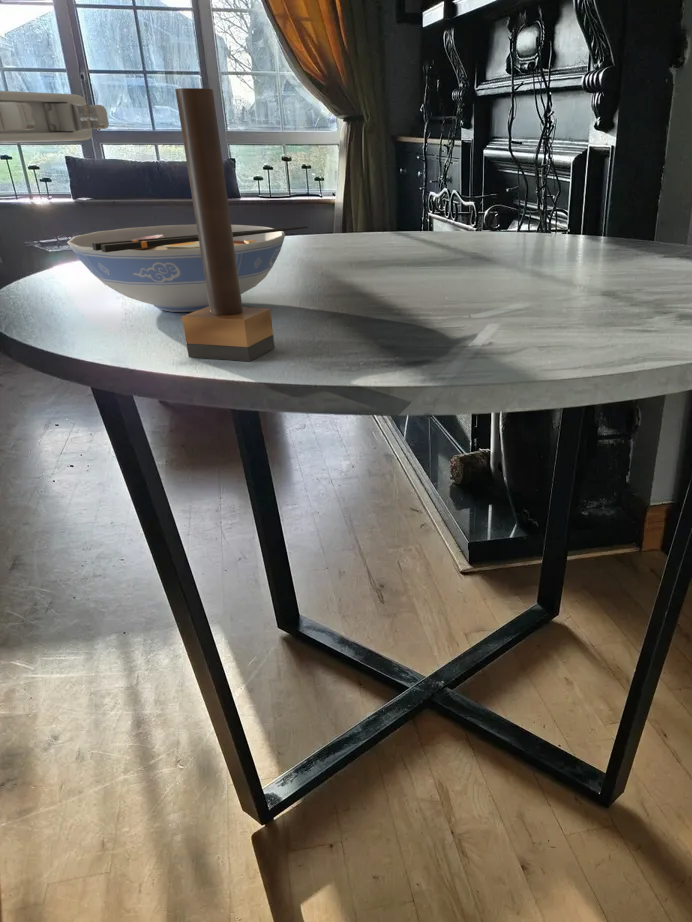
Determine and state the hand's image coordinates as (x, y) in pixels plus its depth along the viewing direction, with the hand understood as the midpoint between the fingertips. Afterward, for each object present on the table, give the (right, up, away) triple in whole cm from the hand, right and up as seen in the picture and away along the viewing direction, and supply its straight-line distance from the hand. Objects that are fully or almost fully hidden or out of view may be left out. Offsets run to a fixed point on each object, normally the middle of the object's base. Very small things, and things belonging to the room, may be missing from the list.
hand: (67, 116), depth 64 cm
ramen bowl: (+2, -6, +25) cm, 26 cm away
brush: (+12, -17, +7) cm, 22 cm away
